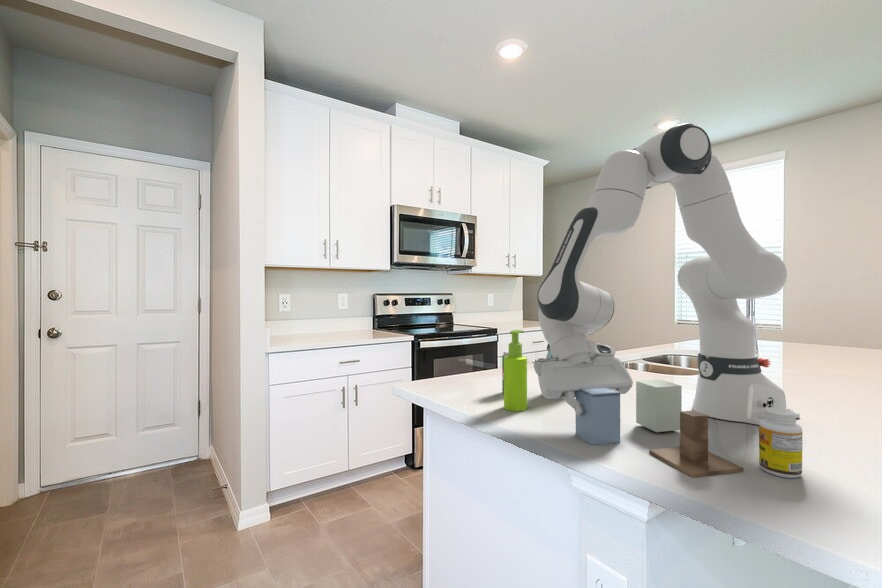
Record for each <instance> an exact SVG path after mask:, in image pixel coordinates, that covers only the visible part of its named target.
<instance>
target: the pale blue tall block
mask: <svg viewBox="0 0 882 588" xmlns="http://www.w3.org/2000/svg"><path fill="white" fill-rule="evenodd" d="M575 399H576V400H577V401H578V402H579V403H580V404H584V406H585V409H586V413H585V415H579V416H577V415H576V414H575V435H576V436H578V437H579V438H581V439H582V440H583V441H585V442H586V443H588V444H590V445H591V446H596V445H607V444H617V443H619V444H620V443H621V394H620V392H618V391H615V390H612V389H610V388H607V387H598V388H582V389H579V391H576V397H575Z"/></svg>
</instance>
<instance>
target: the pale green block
mask: <svg viewBox="0 0 882 588" xmlns="http://www.w3.org/2000/svg"><path fill="white" fill-rule="evenodd" d="M682 388H683V387H682V385H681V384H677V383H673V382H670V381H667V380H664V379H646V380H645V379H644V380H636V381H635V392H636V393H635V396H636V397H635V413H636V414H635V420H636V421H635V423H636V424H638V425H640V426H642V427H644V428H647V430H648V429H649V430H651V431H653V432H655V433H661V432H672V431H673V432H674V431H680V411H683V410H682V402H683V401H682V398H683V396H682V391H683V390H682Z"/></svg>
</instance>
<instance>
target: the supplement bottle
mask: <svg viewBox="0 0 882 588" xmlns="http://www.w3.org/2000/svg"><path fill="white" fill-rule="evenodd" d="M758 449H759V450H758V464H759V467H760V468H761V470H762V471H764V472H766V473H768V474H770V475H772V476H777V477H781V478H787V479H796V478H797V479H798V478H800V477H801V476H802V475H803V428H802V426H801V425H800V424H798V423H797V418H796V414H795V412H792V411H790V410H786V409H780V408H766V409H765V419H762V420H760V422H759V425H758Z"/></svg>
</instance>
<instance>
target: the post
mask: <svg viewBox="0 0 882 588" xmlns="http://www.w3.org/2000/svg"><path fill="white" fill-rule="evenodd" d="M648 452H649V454H650V455H652V456H654V457H655V458H656V459H659V460H660V461H662V462H664V463H666V464H668V465H669V466H671V467H674V468H675V469H677V470H679V471H680V472H682V473H684V474H685V475H687V476H688V477H691V478H697V477H704V476H705V477H707V476H714V475H716V476H717V475H724V474H725V475H726V474H733V473H741V472H744V467H743V466H740V465H738V464H737V463H735V462H732V461H729V460H727V459H725V458H723V457H721V456H718V455H717V454H715V453H712V452H710V451H709V416H708V415H706V414H703V413H700V412H697V411H695V410H693V409H692V410H684V411H683V410H682V411H680V430H679V446H675V447H666V448H665V447H663V448H655V449H649V450H648Z"/></svg>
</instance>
